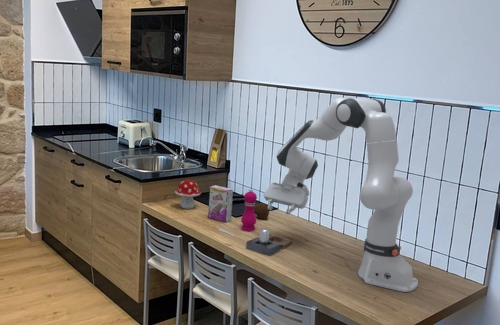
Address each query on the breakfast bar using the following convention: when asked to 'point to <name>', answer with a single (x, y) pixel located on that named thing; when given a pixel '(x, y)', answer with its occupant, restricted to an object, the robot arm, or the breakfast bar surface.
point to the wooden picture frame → (280, 241)
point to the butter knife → (225, 231)
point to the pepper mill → (249, 211)
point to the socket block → (263, 247)
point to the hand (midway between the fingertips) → (278, 211)
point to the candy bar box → (220, 203)
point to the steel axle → (264, 237)
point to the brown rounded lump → (261, 210)
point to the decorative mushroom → (187, 193)
